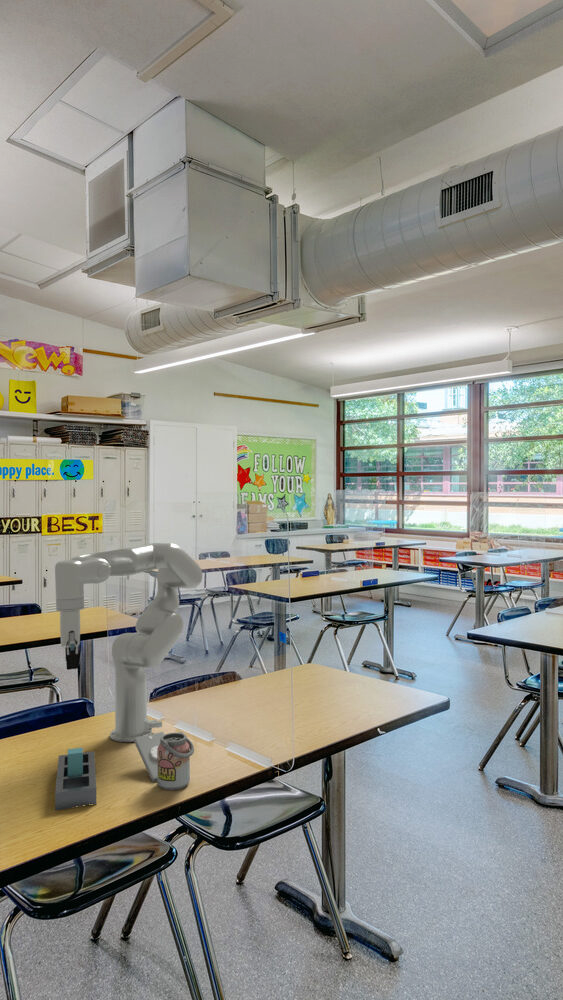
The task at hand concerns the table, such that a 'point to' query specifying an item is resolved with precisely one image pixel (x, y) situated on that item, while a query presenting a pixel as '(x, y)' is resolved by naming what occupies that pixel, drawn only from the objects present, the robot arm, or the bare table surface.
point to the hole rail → (75, 783)
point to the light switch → (147, 746)
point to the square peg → (75, 761)
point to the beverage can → (174, 761)
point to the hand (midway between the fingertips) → (72, 664)
